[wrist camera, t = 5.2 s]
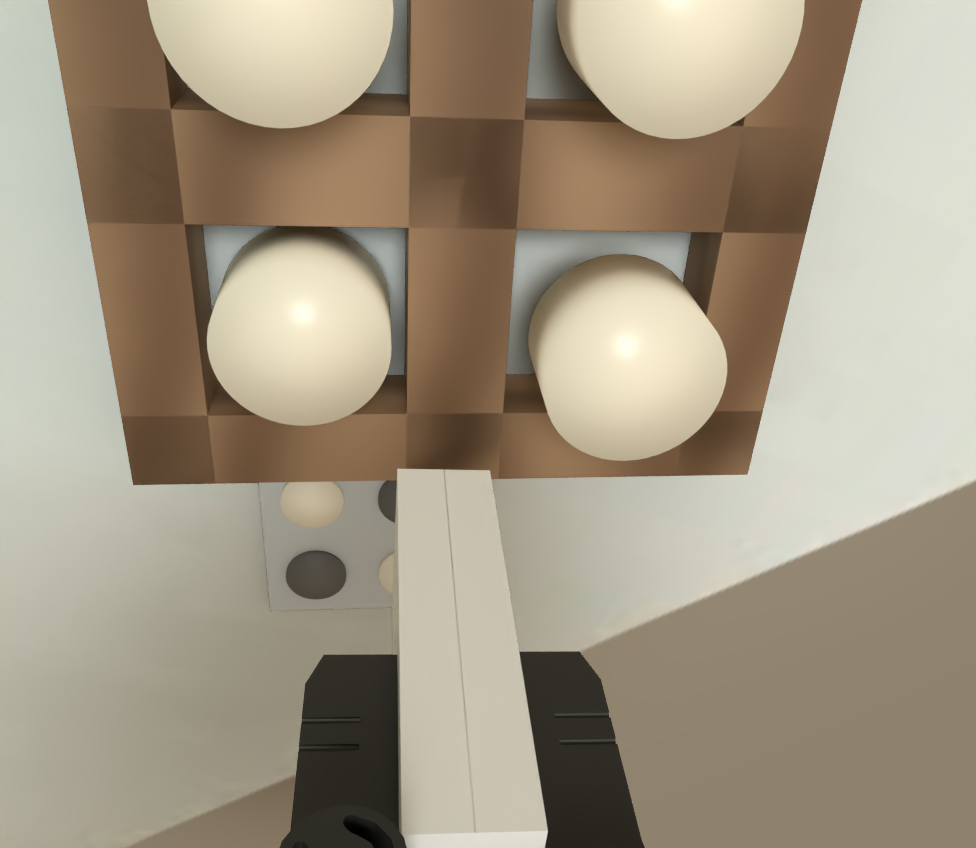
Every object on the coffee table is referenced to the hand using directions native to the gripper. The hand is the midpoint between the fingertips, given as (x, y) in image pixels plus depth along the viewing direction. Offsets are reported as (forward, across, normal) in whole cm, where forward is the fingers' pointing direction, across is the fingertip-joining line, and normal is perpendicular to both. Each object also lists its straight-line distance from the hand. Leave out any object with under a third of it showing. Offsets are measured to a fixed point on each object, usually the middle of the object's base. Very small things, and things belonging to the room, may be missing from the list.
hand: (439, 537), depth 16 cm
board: (+15, +1, +2) cm, 15 cm away
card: (+15, -2, -12) cm, 19 cm away
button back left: (+14, -3, -2) cm, 15 cm away
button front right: (+12, +5, +7) cm, 15 cm away
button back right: (+12, +6, -2) cm, 14 cm away
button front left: (+12, -3, +7) cm, 14 cm away
